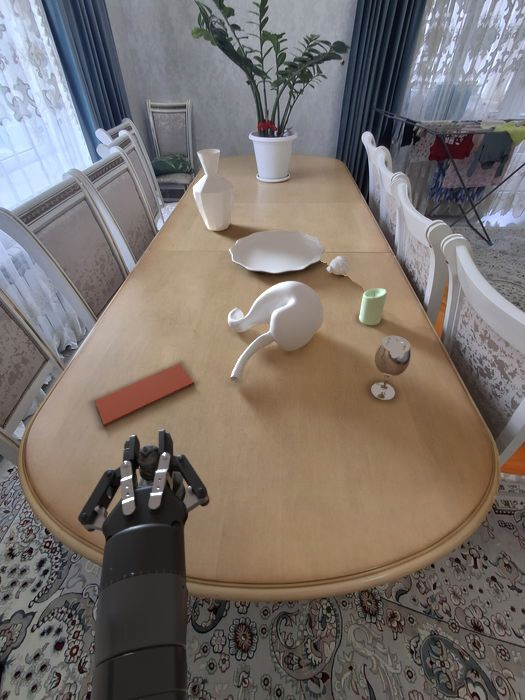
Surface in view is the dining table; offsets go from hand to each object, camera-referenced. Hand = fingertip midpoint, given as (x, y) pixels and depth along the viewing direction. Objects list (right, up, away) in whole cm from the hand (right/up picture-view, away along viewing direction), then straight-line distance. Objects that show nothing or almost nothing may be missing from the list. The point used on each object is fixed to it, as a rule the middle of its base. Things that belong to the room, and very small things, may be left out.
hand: (149, 436), depth 44 cm
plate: (+19, +41, +67) cm, 81 cm away
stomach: (+17, +12, +35) cm, 41 cm away
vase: (-2, +57, +87) cm, 104 cm away
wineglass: (+38, +3, +23) cm, 44 cm away
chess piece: (+1, -9, +5) cm, 11 cm away
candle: (+40, +18, +40) cm, 60 cm away
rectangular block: (-9, +2, +26) cm, 27 cm away
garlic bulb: (+36, +32, +56) cm, 74 cm away
